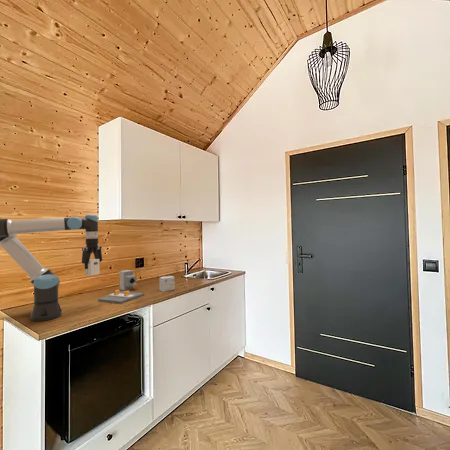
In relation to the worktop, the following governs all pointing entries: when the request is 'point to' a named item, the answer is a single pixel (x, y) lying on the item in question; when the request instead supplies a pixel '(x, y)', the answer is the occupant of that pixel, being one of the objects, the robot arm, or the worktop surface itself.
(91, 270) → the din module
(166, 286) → the light bulb box
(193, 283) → the worktop surface
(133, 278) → the circuit breaker
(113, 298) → the din rail board
